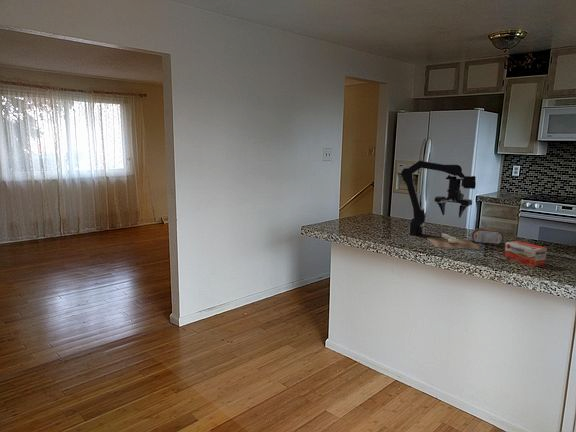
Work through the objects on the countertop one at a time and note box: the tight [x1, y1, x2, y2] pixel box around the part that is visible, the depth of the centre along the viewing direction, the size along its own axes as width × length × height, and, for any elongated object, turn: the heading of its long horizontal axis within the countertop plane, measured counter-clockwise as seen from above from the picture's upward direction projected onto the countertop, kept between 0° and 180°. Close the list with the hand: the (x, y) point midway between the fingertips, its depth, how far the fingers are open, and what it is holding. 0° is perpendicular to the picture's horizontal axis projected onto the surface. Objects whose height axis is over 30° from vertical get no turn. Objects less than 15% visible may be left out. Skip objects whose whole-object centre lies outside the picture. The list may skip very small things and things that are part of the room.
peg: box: [439, 232, 458, 243], centre depth 219 cm, size 12×4×3 cm, turn 14°
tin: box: [471, 227, 504, 245], centre depth 218 cm, size 15×3×8 cm, turn 71°
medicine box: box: [503, 240, 548, 268], centre depth 188 cm, size 15×8×8 cm, turn 25°
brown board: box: [426, 237, 481, 250], centre depth 216 cm, size 22×20×1 cm
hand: (451, 216), depth 226 cm, fingers open, 9 cm apart
